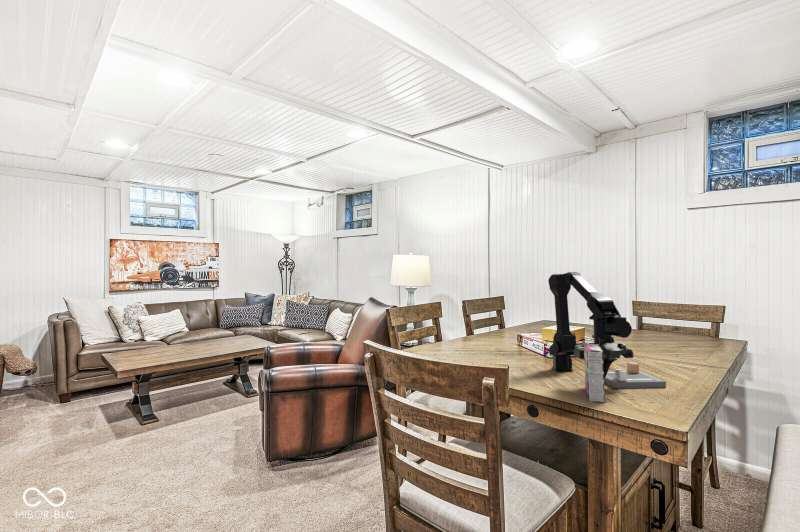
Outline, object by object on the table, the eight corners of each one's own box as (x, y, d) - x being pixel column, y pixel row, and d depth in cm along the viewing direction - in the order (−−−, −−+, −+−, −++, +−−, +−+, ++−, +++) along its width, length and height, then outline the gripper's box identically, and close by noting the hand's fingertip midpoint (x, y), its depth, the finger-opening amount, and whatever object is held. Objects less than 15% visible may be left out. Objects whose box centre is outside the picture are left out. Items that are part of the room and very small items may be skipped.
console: (614, 388, 139) (613, 382, 139) (592, 376, 155) (592, 370, 155) (666, 387, 139) (666, 381, 139) (639, 375, 155) (639, 369, 155)
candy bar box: (584, 391, 137) (583, 343, 137) (600, 392, 135) (599, 344, 135) (587, 401, 126) (586, 349, 126) (605, 403, 124) (603, 350, 125)
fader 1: (620, 380, 141) (619, 371, 141) (614, 378, 144) (614, 368, 144) (627, 380, 140) (626, 371, 141) (621, 377, 144) (621, 368, 144)
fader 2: (632, 372, 150) (632, 364, 150) (627, 370, 154) (627, 361, 154) (639, 372, 150) (639, 364, 150) (633, 370, 154) (633, 361, 154)
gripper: (586, 337, 135) (587, 384, 135) (642, 336, 134) (643, 383, 134) (572, 332, 146) (573, 375, 146) (624, 331, 146) (625, 374, 145)
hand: (603, 377), depth 142 cm, fingers closed
